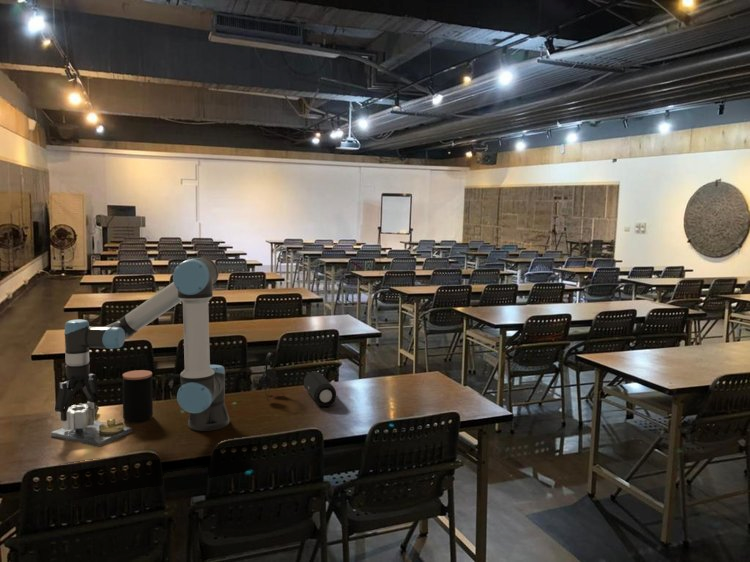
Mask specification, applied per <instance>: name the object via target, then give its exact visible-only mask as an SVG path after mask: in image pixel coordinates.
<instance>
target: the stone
mask: <svg viewBox="0 0 750 562" xmlns="http://www.w3.org/2000/svg"><path fill="white" fill-rule="evenodd" d="M83 404H84V403H82V402H80V403H78V405H83ZM99 410H100V408H99V406H98V405H96V409H95V410H94V414H95V415H96V414H97V413H98V412H99Z"/></svg>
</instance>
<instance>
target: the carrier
mask: <svg viewBox="0 0 750 562" xmlns="http://www.w3.org/2000/svg"><path fill="white" fill-rule="evenodd" d="M77 411H78V410H77ZM132 432H133V428H132V427H129V426H128V427H127V426H124V422H123V421H117V420H116V419H115V418H109V419H107V422H104V421H99V420H94V425H92V426H87V427H86V428H85V429H81V428H79V429H75V430H70V429H69V430H66V429H62V427H61V428H58V429H56V430H53V431H51V432H50V436H51V437H52V438H57V439H61V440H65V441H66V440H67V441H70V442H74V443H75V442H76V443H79V444H82V445H83V444H84V445H89V446H93V447H98V448H99V447H102V446H104V445H106V444H108V443H110V442H112V441H115V440H117V439H120V438H122V437H124V436H126V435H128V434H131V433H132Z"/></svg>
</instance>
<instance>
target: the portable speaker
mask: <svg viewBox="0 0 750 562" xmlns="http://www.w3.org/2000/svg"><path fill="white" fill-rule="evenodd" d="M303 387H304V388H305V390H306V391H307V392H308V394H309V395H310V396H311V397H312V399H313V400H314V402H315V403H316V404H317V405H318V406H320V407H329V406H331V405H332V404H334V403H335V401H336V398H337V391H336V389H335V387H334V386H333V385H332V384H331V382H330V381H329V380H328V379H327V378H326V377H325V376H324V375H323V373H321V372H319V371H316V370H314V371H311V372H309V373H307V374H305V376H304V378H303Z"/></svg>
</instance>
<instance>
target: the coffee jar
mask: <svg viewBox="0 0 750 562" xmlns="http://www.w3.org/2000/svg"><path fill="white" fill-rule="evenodd" d="M152 376H153V372H152V371H151V370H145V369H140V370H136V369H135V370H129V371H126V372H124V373H122V378H123V380H122V416H123V417H122V418H123V420H124V421H125V422H126V423H129V424H130V423H131V424H137V423H138V424H139V423H144V422H147V421H149V420H151V418H152V417H153V415H154V413H153V411H154V409H153V408H154V407H153V405H154V404H153V395H154V394H153V377H152Z"/></svg>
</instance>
